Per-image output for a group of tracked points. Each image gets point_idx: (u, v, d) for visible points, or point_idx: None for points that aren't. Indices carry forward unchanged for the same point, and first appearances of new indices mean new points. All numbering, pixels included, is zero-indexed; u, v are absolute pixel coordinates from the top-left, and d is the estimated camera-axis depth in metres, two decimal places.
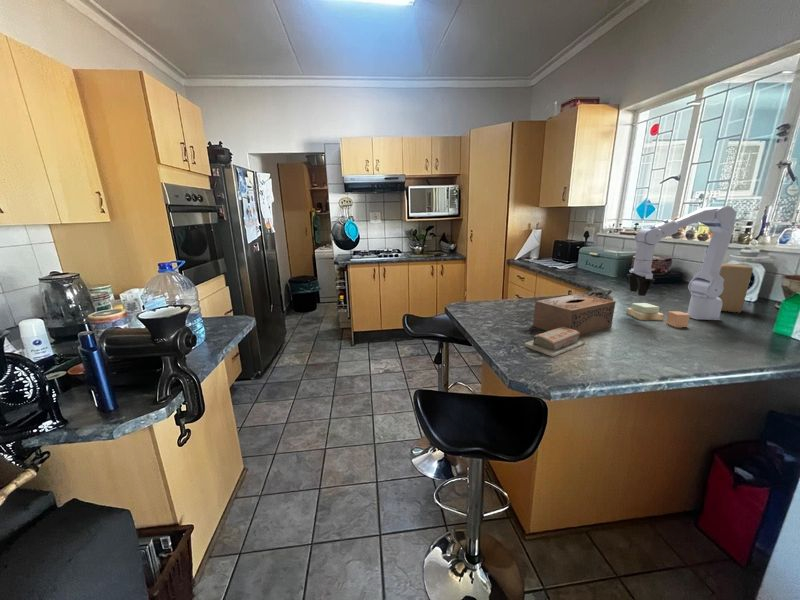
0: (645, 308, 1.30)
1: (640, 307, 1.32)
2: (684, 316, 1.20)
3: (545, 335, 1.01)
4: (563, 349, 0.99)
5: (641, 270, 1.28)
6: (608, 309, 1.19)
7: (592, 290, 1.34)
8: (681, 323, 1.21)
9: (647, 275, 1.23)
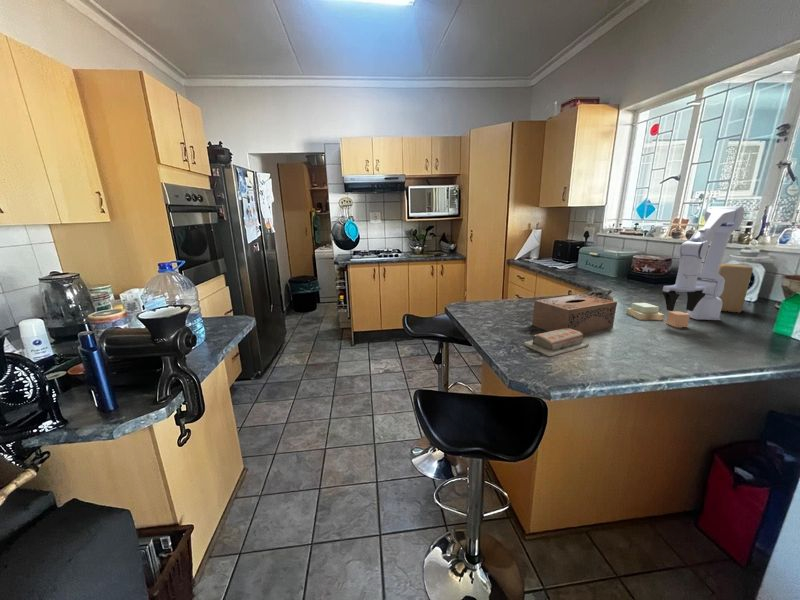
0: (645, 308, 1.30)
1: (640, 307, 1.32)
2: (684, 316, 1.20)
3: (545, 335, 1.01)
4: (562, 350, 0.99)
5: (675, 284, 1.21)
6: (609, 309, 1.18)
7: (592, 290, 1.34)
8: (681, 323, 1.21)
9: (663, 287, 1.21)
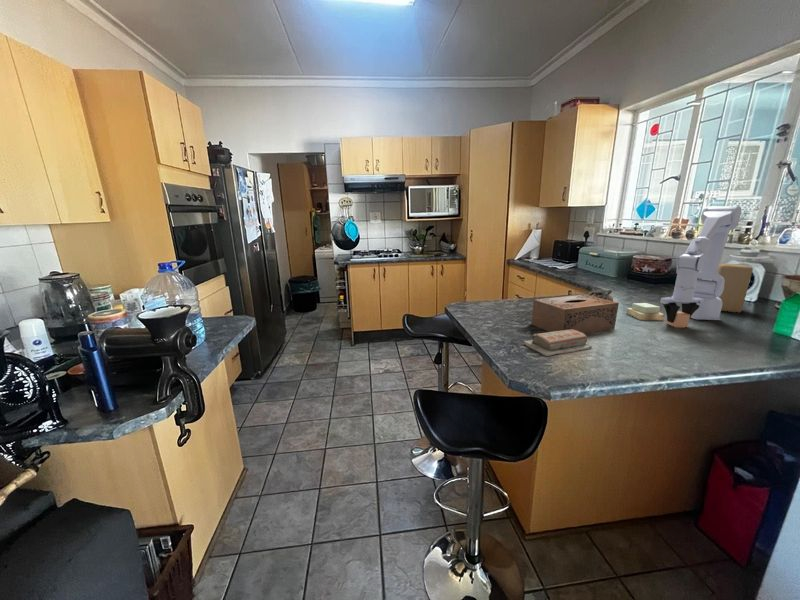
0: (646, 308, 1.30)
1: (641, 307, 1.32)
2: (684, 316, 1.20)
3: (544, 335, 1.01)
4: (561, 350, 0.98)
5: (673, 296, 1.22)
6: (610, 310, 1.18)
7: (592, 290, 1.34)
8: (681, 323, 1.21)
9: (661, 299, 1.22)
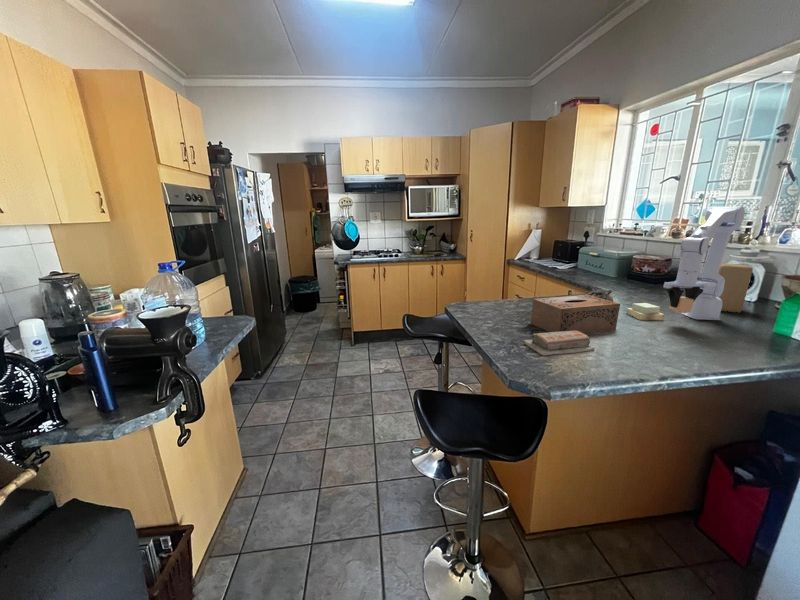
0: (646, 308, 1.30)
1: (641, 307, 1.32)
2: (688, 300, 1.19)
3: (544, 335, 1.01)
4: (560, 350, 0.98)
5: (676, 280, 1.21)
6: (610, 311, 1.17)
7: (592, 290, 1.34)
8: (684, 308, 1.20)
9: (664, 284, 1.20)
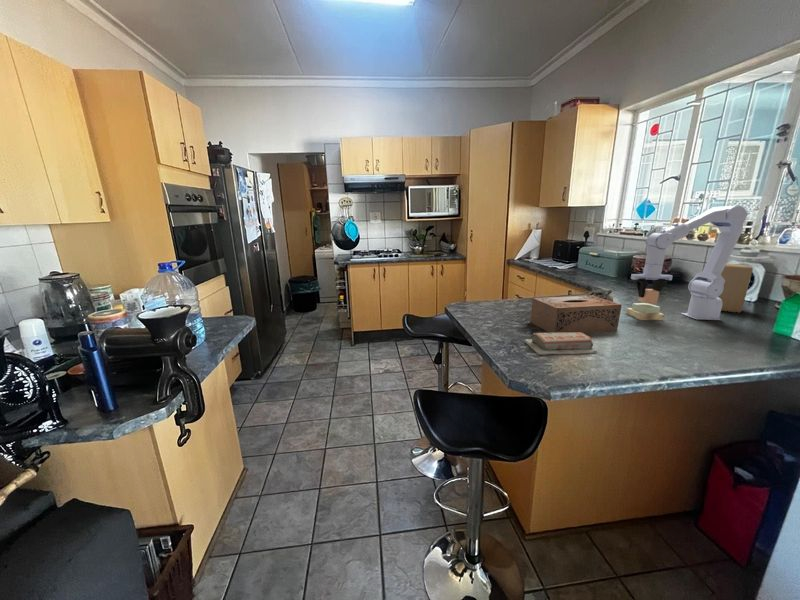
0: (646, 308, 1.30)
1: (641, 307, 1.32)
2: (654, 292, 1.29)
3: (544, 334, 1.02)
4: (558, 351, 0.98)
5: (643, 272, 1.32)
6: (611, 312, 1.16)
7: (592, 290, 1.34)
8: (651, 300, 1.30)
9: (631, 275, 1.32)
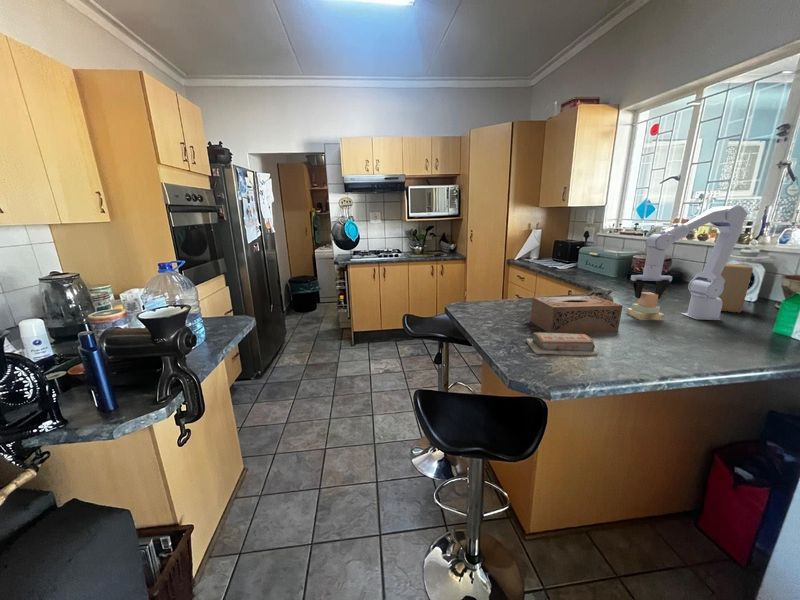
0: (646, 308, 1.30)
1: (641, 307, 1.32)
2: (653, 296, 1.30)
3: (544, 334, 1.02)
4: (556, 351, 0.98)
5: (643, 273, 1.32)
6: (611, 312, 1.15)
7: (592, 290, 1.34)
8: (650, 303, 1.31)
9: (631, 276, 1.32)
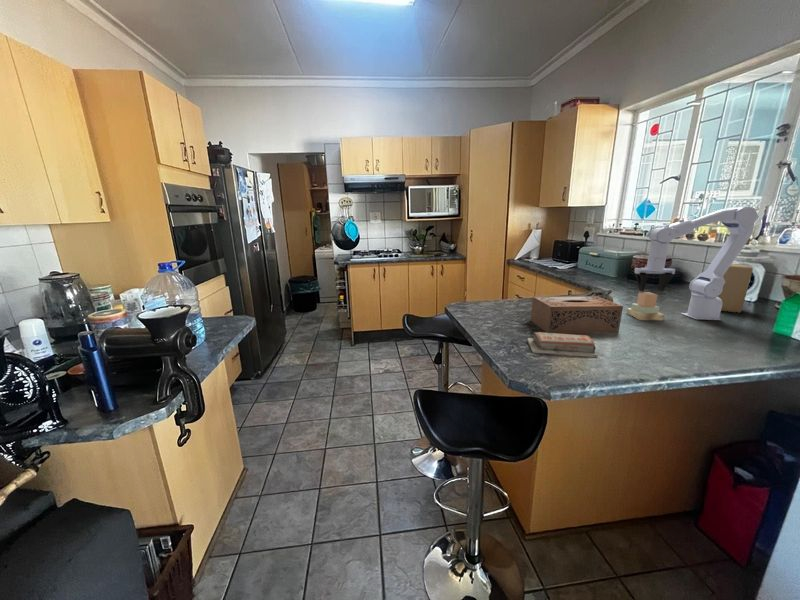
0: (645, 308, 1.30)
1: (640, 307, 1.32)
2: (652, 296, 1.30)
3: (544, 334, 1.02)
4: (554, 351, 0.97)
5: None
6: (611, 313, 1.14)
7: (592, 290, 1.34)
8: (649, 303, 1.31)
9: (635, 269, 1.34)
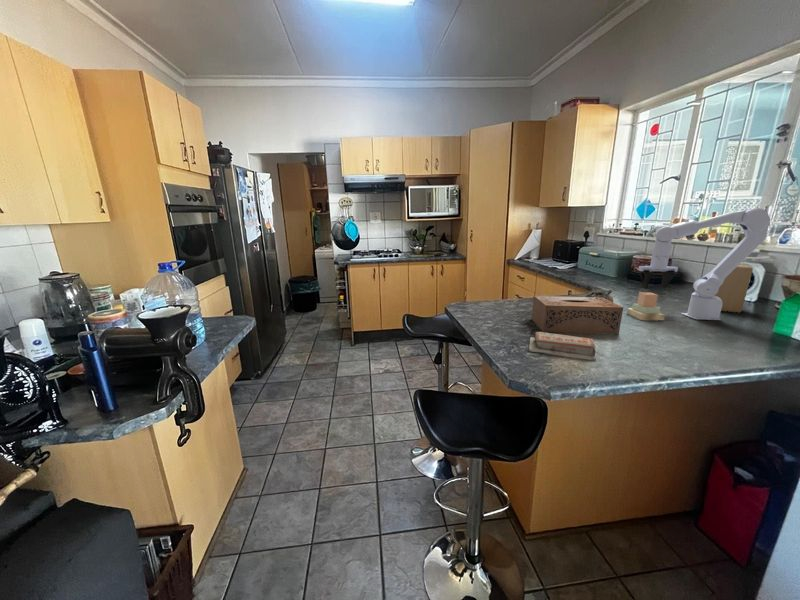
0: (646, 308, 1.30)
1: (641, 307, 1.32)
2: (652, 296, 1.30)
3: (544, 334, 1.02)
4: (550, 351, 0.98)
5: (650, 264, 1.39)
6: (610, 314, 1.13)
7: (592, 290, 1.34)
8: (649, 303, 1.31)
9: (639, 267, 1.39)
